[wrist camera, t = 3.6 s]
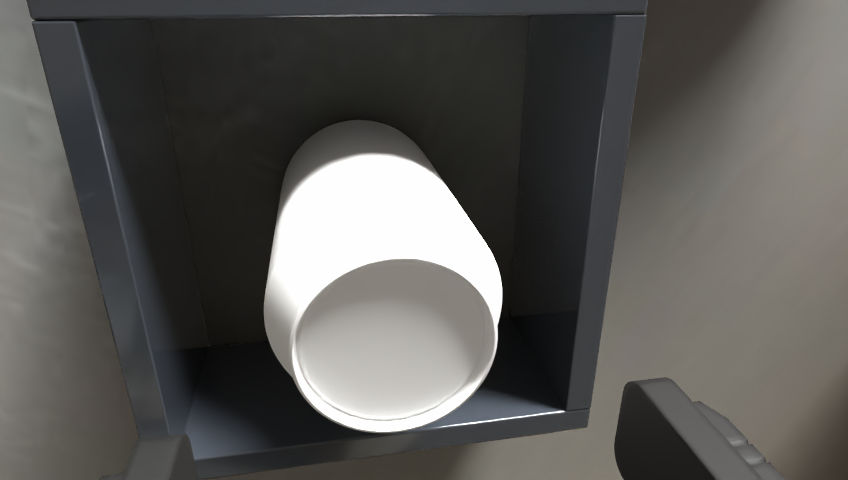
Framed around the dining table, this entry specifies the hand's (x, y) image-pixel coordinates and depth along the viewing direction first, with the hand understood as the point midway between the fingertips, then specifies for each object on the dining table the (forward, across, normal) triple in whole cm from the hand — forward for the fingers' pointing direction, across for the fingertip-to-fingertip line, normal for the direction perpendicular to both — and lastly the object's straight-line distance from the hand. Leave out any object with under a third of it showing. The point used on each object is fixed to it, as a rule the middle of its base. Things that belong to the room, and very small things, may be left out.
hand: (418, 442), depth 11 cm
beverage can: (+15, 0, 0) cm, 15 cm away
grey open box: (+15, 0, 0) cm, 15 cm away
